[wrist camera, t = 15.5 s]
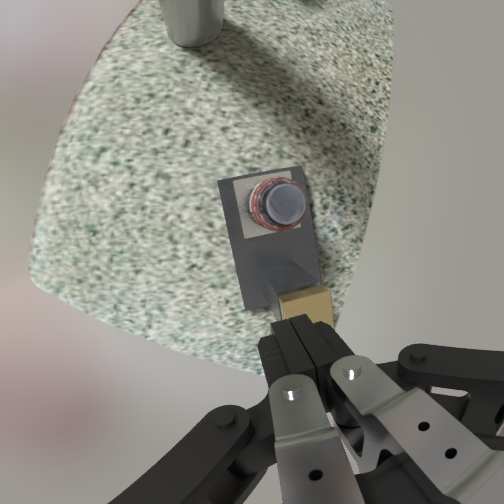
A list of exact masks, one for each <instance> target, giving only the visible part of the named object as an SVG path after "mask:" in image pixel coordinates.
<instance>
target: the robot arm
mask: <svg viewBox="0 0 504 504" xmlns="http://www.w3.org/2000/svg"><path fill="white" fill-rule="evenodd" d="M159 3H160V7H161V11H162V14H163V18H164V22H165V26H166V29H167V33H168V36H169V38H170V39H171V40H172V42H174V43H175V44H177V45H180V46H184V47H197V46H202V45H205V44H207V43H210V42H211V41H213V40H215V39H216V38H217V37H218V36H219V35H220V33H221V31H222V28H223V15H224V0H159ZM270 327H271V331H272V335H270V336H266V337H262V338H260V341H259V343H258V350H259V354H260V358H261V362H262V365H263V369H264V373H265V377H266V380H267V383H268V387H269V390H268V393H267V395H266V397H265V398H264V399H263V400H262V401H261V402H260V403H259V404H257V405H255V406H253V407H251V408H249V409H247V410H245V409H244V408H242V407H240V406H236V405H225V406H221V407H218V408H215V409H213V410H212V411H210V412H209V413H208V414H207V415H206V416H205V417H204V418H203V419H202V420H201V421H200V422H199V423H198V424H197V425H196V426H195V427H194V428H193V429H192V430H191V431H190V432H189V433H188V434H187V435H186V436H185V437H184V438H183V439H182V440H180V441H179V442H178V443H177V444H176V445H175V446H174V447H173V448H172V449H171V450H170V451H169V452H168V453H167V454H166V455H165V456H163V457H162V458H161V459H160V460H159V461H158V462H157V463H156V464H155V465H154V466H152V467H151V468H150V469H149V470H148V471H147V472H146V473H145V474H143V475H142V476H141V477H140V478H139V479H138V480H137V481H135V482H134V483H133V484H132V485H131V486H130V487H128V488H127V489H126V490H124V491H123V492H122V493H121V494H120V495H118V496H117V497H116V498H114V499H113V500H112V501H111V502H109V503H108V504H243V503H244V501H245V500H246V499H247V498H248V496H249V495H250V494H251V492H252V491H253V490H254V488H255V487H256V485H257V484H258V483H259V482H260V480H261V479H262V477H263V476H264V475H265V473H266V471H267V469H268V467H269V466H271V465H273V464H275V463H277V466H278V472H279V480H280V487H281V493H282V500H283V503H282V504H504V351H490V350H476V349H466V348H455V347H446V346H437V345H429V344H413V345H409V346H407V347H405V348H404V349H402V350H401V352H400V353H399V355H398V361H393V362H388V363H382V364H374V363H373V362H372V361H371V360H370V359H369V358H367V357H364V356H359V355H355V354H354V353H353V352H352V350H351V349H350V348H349V347H348V346H347V345H346V343H345V342H344V341H343V340H342V339H341V338H340V336H339V335H338V334H337V333H336V332H335V330H334V329H333V328H332V327H331V325H329V324H327V323H324V322H322V321H319V322H315V323H312V321H311V320H310V318H309V317H308V316H307V314H302V315H298V316H295V317H291V318H288V319H284V320H280V321H276V322H273V323H270ZM432 386H434V387H441V388H448V389H455V390H463V391H467V392H468V393H467V394H466V395H465V396H462V397H456V396H448V395H441V394H435V393H431V389H432ZM328 412H331V414H332V416H333V425H334V427H331V425H330V422H329V420H328V417H327V415H326V413H328ZM340 438H341V439H342V441H343V443H344V444H345V446H346V447H347V449H348V450H349V452H350V453H351V455H352V456H353V458H354V459H355V461H356V463H357V465H358V467H359V472H360V474H356V475H354V473H353V471H352V468H351V465H350V463H349V460H348V457H347V455H346V452H345V449H344V447H343V444H342V442H341V439H340Z"/></svg>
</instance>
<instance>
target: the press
mask: <svg viewBox="0 0 504 504" xmlns="http://www.w3.org/2000/svg"><path fill="white" fill-rule="evenodd" d="M273 177H286V178H289V179H292V180H293V181H295V182H296V183H297V184H299V185H300V187H301V188H302V189H303V191H304V193H305V196H306V200H307V209H306V213H305V216H304V218H303V219H302V221H301V222H300V223H299V224H298V225H297V226H296V227H294V228H293V229H290V230H288V231H283V232H277V231H271V230H268V229H266V228H264V227H262V226H260V225H258V224H257V223H255V222H254V221H253V220H252V219H251V218H250V216H249V215H248V213H247V210H246V199H247V196H248V194H249V192H250V191H251V189H253V188H254V187H255V186H256V185H258V184H259V183H261V182H263V181H265V180H267V179H270V178H273ZM217 182H218V187H219V192H220V196H221V201H222V206H223V211H224V216H225V220H226V225H227V230H228V234H229V239H230V244H231V248H232V253H233V257H234V262H235V266H236V271H237V275H238V280H239V284H240V289H241V293H242V298H243V302H244V306H245V310H246V311H247V310H251V309H256V308H260V307H264V306H268V305H270V307H271V309H272V311H273V313H274V315H275V317H276V319H277V321H280V320H282V314H281V308H280V303H279V297H278V296H281V295H285V294H289V293H293V292H297V291H301V290H305V289H309V288H312V287H316V286H320V285H322V284H321V277H320V269H319V262H318V255H317V248H316V242H315V235H314V229H313V223H312V217H311V211H310V206H309V200H308V195H307V189H306V184H305V179H304V174H303V169H302V166H295V167H289V168H282V169H276V170H270V171H264V172H259V173H253V174H248V175H243V176H238V177H233V178H228V179H223V180H218V181H217Z"/></svg>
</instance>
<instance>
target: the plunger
mask: <svg viewBox="0 0 504 504" xmlns="http://www.w3.org/2000/svg"><path fill="white" fill-rule="evenodd" d="M278 297H279V303H280V308H281V314H282V320H284V319H288V318H291V317H295V316H298V315H302V314H307V316H308V317H309V318H310V320H311V321H312V323H315V322H319V321H322V322H324V323H327V324H329V325H331V327H332V328H333V329H334V324H333V313H332V302H331V293H330V290H329V289H328V288H327V287H325V286H324V285H320V286H316V287H312V288H309V289H305V290H301V291H297V292H293V293H289V294H285V295H281V296H278Z"/></svg>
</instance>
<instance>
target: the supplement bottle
mask: <svg viewBox="0 0 504 504" xmlns="http://www.w3.org/2000/svg"><path fill="white" fill-rule="evenodd" d="M306 209H307V200H306V196H305V193H304V191H303V189H302V188H301V187H300V185H299V184H297V183H296V182H295V181H293V180H292V179H289V178H286V177H273V178H270V179H267V180H265V181H263V182H261V183H259V184H258V185H256V186H255V187H254V188H253V189H251V191H250V192H249V194H248V196H247V199H246V210H247V213H248V215H249V216H250V218H251V219H252V220H253V221H254V222H255V223H257V224H258V225H260V226H262V227H264V228H266V229H268V230H271V231H277V232H283V231H288V230H290V229H293V228H294V227H296V226H297V225H298V224H299V223H300V222H301V221H302V219H303V218H304V216H305V213H306Z"/></svg>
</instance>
